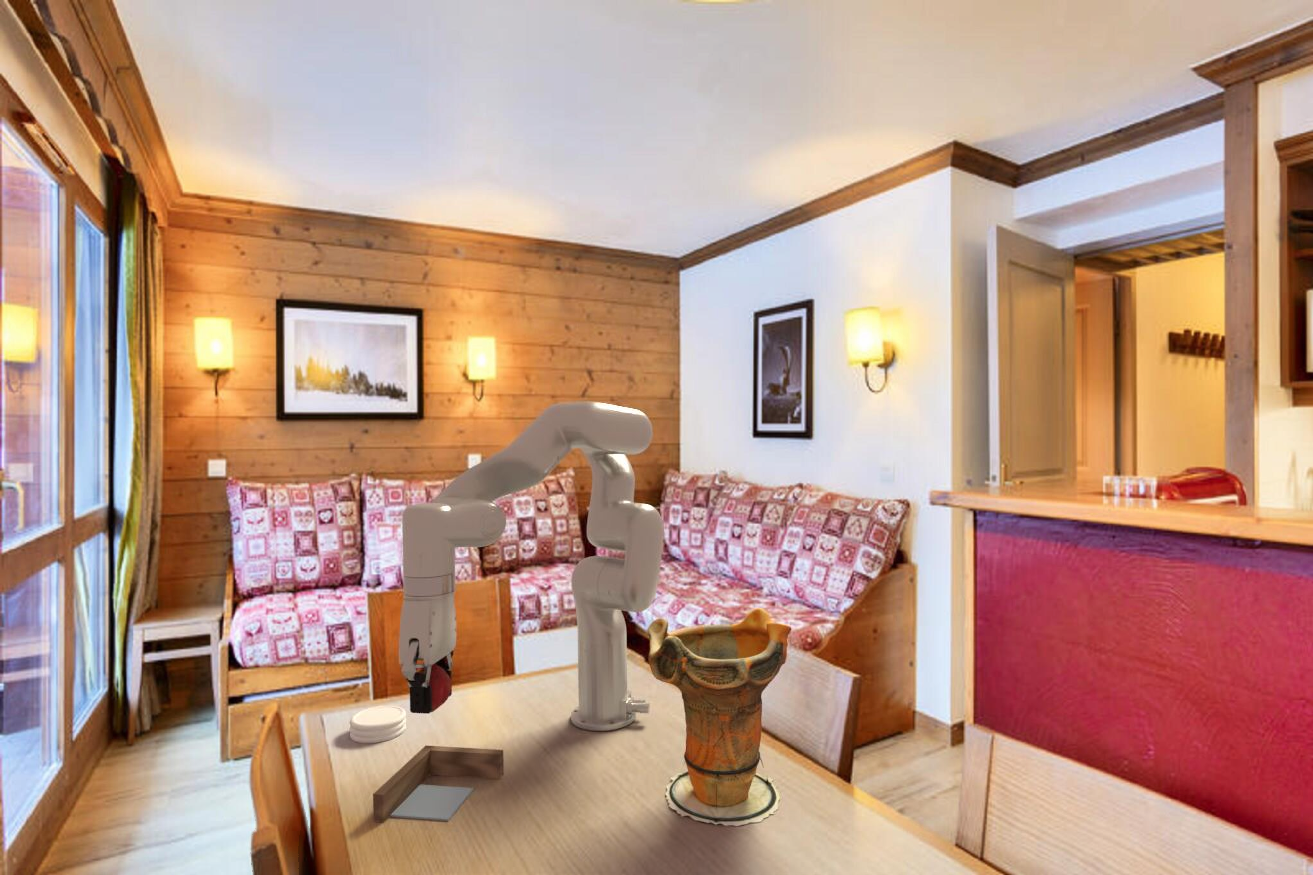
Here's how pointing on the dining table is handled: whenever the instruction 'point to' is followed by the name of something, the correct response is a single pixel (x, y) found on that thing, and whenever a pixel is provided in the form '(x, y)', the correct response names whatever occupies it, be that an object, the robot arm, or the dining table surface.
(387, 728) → the coaster
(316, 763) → the dining table surface
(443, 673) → the onion
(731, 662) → the decorative vase
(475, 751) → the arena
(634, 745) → the dining table surface
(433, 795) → the pad
